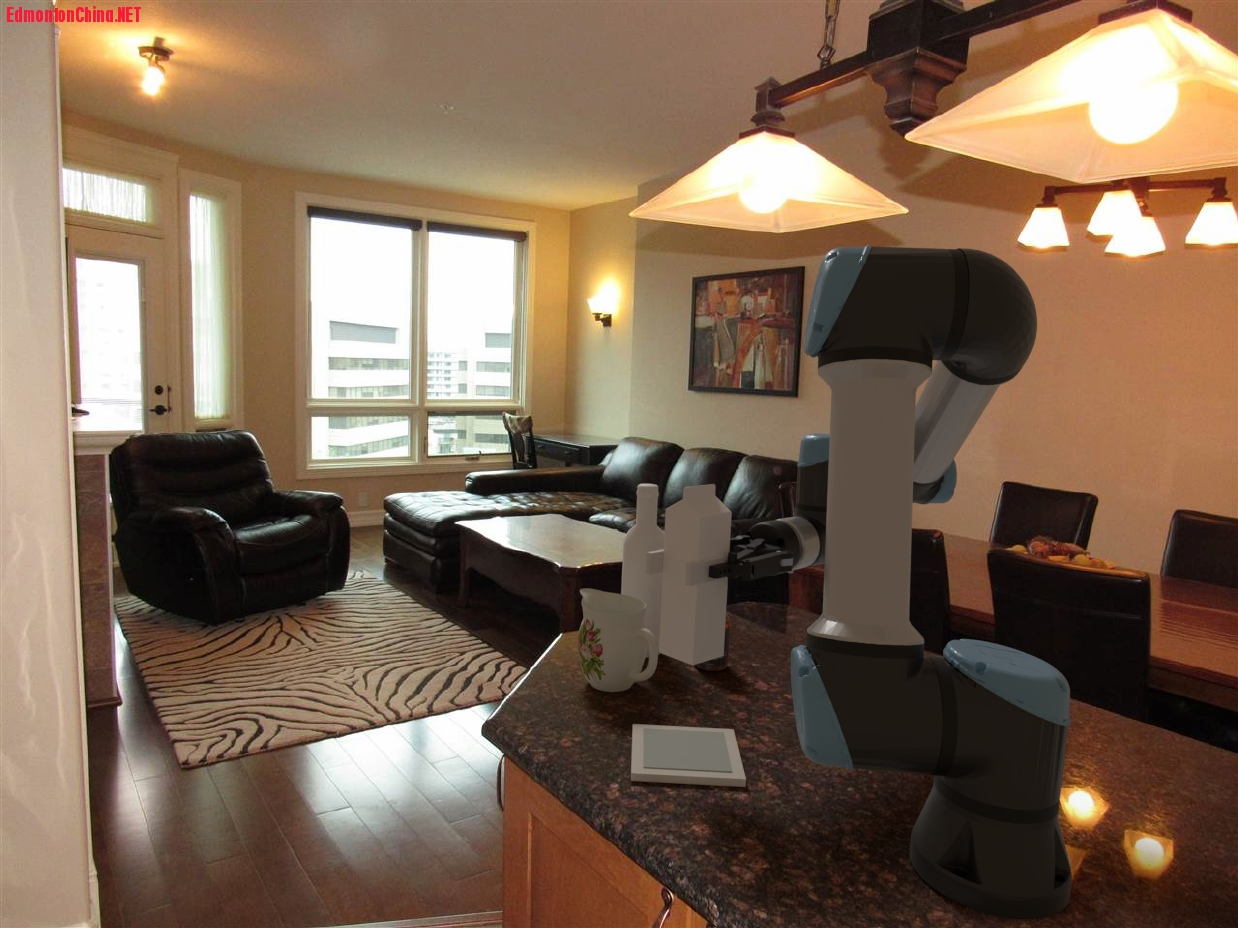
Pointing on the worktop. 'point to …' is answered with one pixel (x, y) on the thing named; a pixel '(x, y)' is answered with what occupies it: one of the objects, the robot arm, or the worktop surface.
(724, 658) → the supplement bottle
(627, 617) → the pitcher
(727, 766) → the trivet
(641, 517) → the bottle
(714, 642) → the milk
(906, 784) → the worktop surface
